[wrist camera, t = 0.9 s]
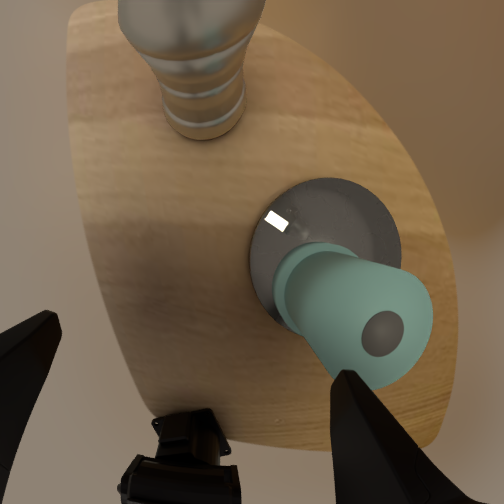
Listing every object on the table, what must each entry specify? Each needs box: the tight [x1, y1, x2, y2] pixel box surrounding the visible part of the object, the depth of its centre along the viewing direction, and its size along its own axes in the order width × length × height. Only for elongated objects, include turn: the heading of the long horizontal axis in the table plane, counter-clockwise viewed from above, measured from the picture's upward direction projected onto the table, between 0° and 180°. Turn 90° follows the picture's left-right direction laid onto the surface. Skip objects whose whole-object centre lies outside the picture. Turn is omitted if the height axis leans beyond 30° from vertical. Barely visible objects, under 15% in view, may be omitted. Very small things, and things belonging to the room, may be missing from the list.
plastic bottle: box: [118, 0, 266, 140], centre depth 14 cm, size 6×7×20 cm
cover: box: [272, 242, 433, 390], centre depth 18 cm, size 7×7×11 cm
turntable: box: [249, 178, 401, 334], centre depth 24 cm, size 13×13×1 cm
